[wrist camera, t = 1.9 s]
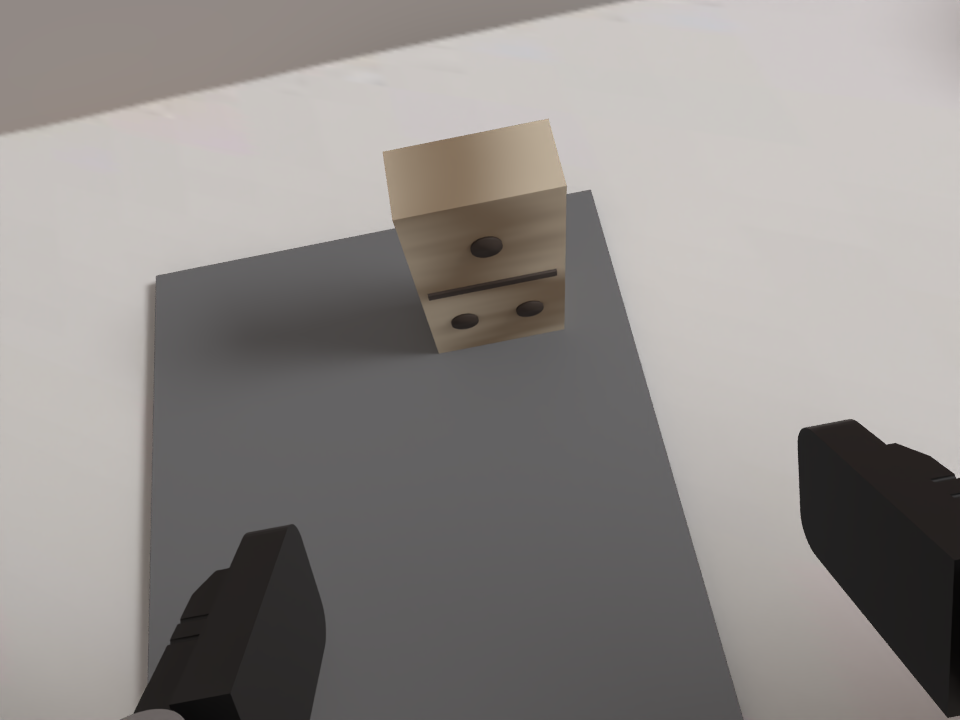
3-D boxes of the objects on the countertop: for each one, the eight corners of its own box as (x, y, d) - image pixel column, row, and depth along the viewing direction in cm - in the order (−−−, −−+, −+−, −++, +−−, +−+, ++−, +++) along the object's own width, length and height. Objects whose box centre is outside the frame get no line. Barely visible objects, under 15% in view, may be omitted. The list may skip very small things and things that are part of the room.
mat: (590, 198, 32) (590, 189, 32) (774, 844, 22) (780, 847, 22) (162, 282, 33) (156, 275, 32) (151, 957, 22) (142, 963, 22)
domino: (551, 275, 30) (548, 118, 22) (565, 331, 29) (567, 188, 21) (430, 299, 30) (382, 151, 22) (439, 355, 29) (393, 223, 21)
